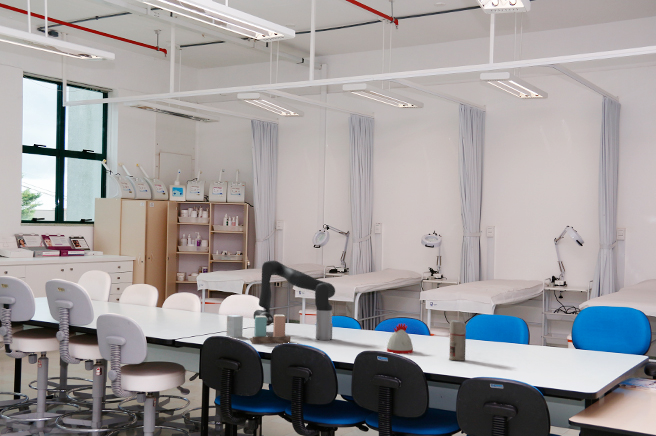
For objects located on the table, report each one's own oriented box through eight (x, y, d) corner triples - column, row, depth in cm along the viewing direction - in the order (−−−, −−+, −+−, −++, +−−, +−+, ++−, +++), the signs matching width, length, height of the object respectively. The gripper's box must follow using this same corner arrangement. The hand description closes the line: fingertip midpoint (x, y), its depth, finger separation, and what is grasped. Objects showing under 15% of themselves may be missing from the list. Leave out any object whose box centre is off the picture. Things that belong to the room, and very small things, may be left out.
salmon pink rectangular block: (283, 339, 377) (284, 314, 378) (284, 341, 372) (285, 315, 373) (273, 339, 376) (273, 314, 376) (274, 341, 371) (275, 315, 372)
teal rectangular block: (264, 341, 370) (265, 315, 370) (266, 342, 365) (266, 316, 365) (254, 341, 368) (254, 315, 369) (255, 342, 364) (256, 316, 364)
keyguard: (285, 340, 380) (285, 332, 380) (290, 344, 366) (290, 336, 366) (249, 341, 375) (249, 333, 375) (252, 345, 361) (252, 336, 361)
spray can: (447, 358, 336) (447, 319, 336) (462, 358, 336) (463, 319, 337) (451, 361, 327) (452, 321, 328) (467, 361, 328) (468, 321, 328)
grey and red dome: (418, 352, 350) (418, 324, 351) (397, 354, 344) (397, 325, 344) (402, 348, 362) (403, 321, 363) (382, 350, 356) (382, 322, 356)
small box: (242, 338, 385) (243, 316, 386) (233, 339, 381) (233, 316, 382) (235, 336, 391) (235, 314, 392) (226, 337, 387) (226, 315, 388)
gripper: (255, 312, 398) (259, 315, 381) (276, 312, 401) (281, 315, 385) (254, 325, 398) (258, 328, 381) (276, 324, 401) (281, 328, 384)
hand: (270, 322), depth 383 cm, fingers closed
